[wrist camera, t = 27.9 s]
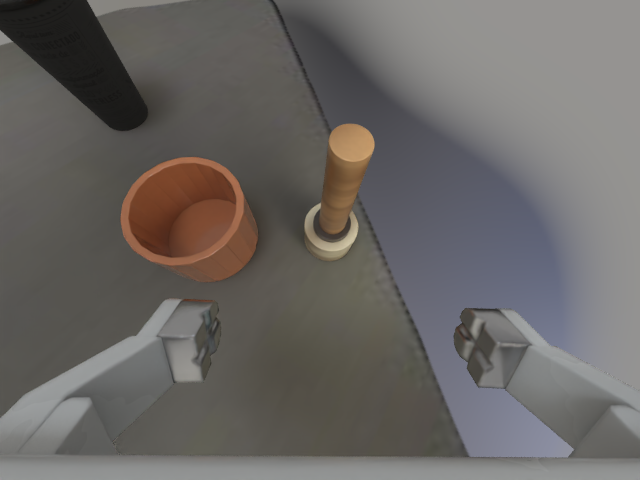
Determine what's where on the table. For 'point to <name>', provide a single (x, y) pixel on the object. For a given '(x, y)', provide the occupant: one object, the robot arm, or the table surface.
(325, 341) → the table surface
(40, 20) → the drinking cup
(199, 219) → the tumbler
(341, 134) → the brush
